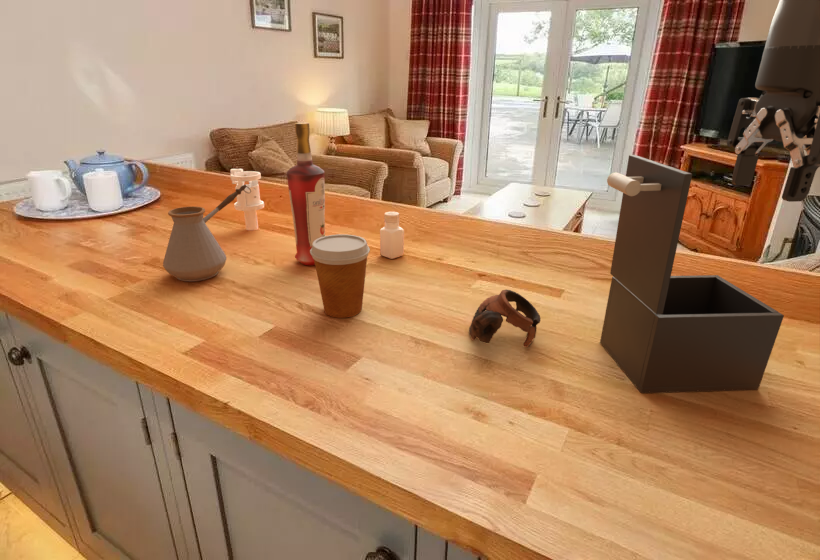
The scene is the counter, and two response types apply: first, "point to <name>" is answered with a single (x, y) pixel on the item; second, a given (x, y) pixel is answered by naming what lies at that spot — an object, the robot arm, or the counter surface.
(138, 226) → the counter surface
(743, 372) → the dark grey storage bin
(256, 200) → the white plastic fitting
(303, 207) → the liquor
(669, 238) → the box lid with handle
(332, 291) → the disposable coffee cup
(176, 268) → the coffee pot
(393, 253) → the white medicine bottle
